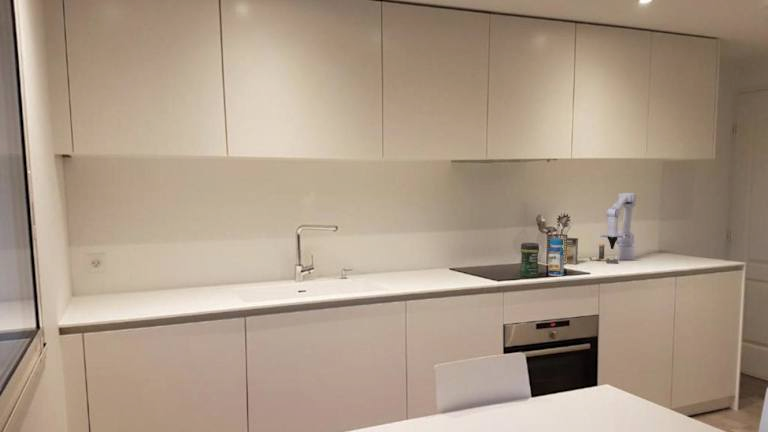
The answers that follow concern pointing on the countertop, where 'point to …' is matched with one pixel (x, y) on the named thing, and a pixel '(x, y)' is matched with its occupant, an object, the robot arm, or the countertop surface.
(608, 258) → the board
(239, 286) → the countertop surface
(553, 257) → the blue labeled canister
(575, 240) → the coffee box
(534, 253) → the coffee jar
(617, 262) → the button housing
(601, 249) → the marker
